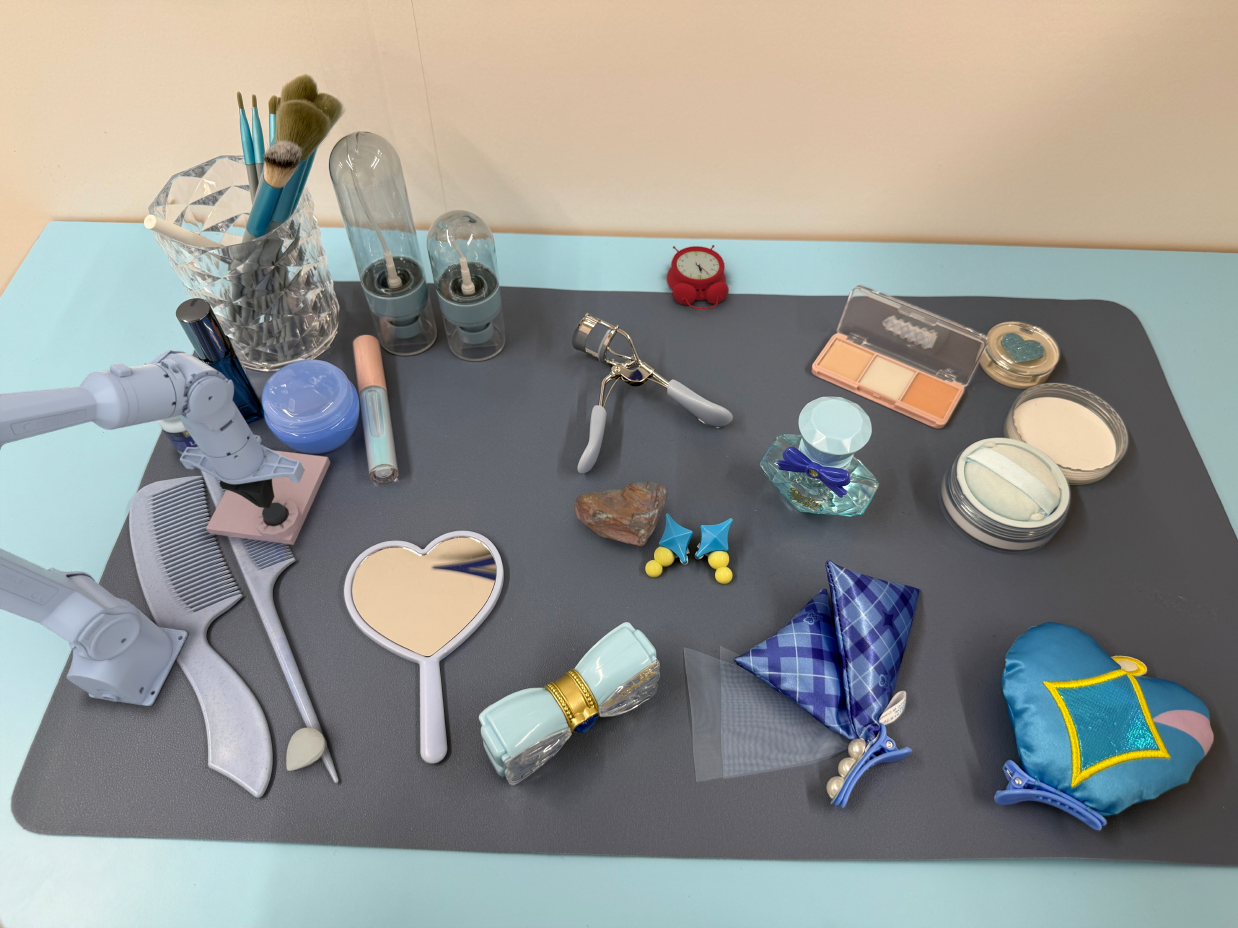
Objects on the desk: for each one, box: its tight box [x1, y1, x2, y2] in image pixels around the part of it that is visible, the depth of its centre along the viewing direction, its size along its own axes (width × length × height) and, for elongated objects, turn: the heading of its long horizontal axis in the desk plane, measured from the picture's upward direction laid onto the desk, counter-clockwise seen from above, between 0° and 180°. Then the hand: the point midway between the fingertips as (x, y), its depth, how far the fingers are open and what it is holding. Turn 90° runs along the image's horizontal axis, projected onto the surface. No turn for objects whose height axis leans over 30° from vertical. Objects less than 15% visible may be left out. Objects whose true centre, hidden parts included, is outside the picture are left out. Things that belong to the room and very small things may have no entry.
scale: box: [205, 449, 331, 546], centre depth 108 cm, size 14×12×3 cm
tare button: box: [262, 502, 287, 526], centre depth 103 cm, size 3×3×2 cm
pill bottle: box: [157, 416, 198, 457], centre depth 110 cm, size 6×6×10 cm
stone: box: [573, 480, 668, 547], centre depth 102 cm, size 13×8×10 cm
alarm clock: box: [666, 244, 729, 310], centre depth 134 cm, size 10×6×15 cm
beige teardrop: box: [285, 726, 328, 772], centre depth 87 cm, size 4×5×2 cm
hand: (266, 501), depth 101 cm, fingers closed
